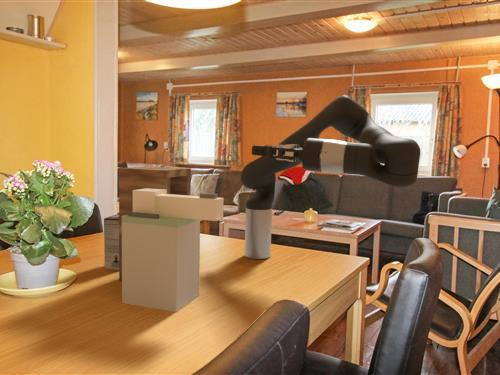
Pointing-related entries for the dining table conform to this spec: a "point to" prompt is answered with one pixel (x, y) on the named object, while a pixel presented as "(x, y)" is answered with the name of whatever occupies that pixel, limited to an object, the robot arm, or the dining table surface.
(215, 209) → the stepped cream block
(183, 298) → the green-lidded white box
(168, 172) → the walnut bridge
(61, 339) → the dining table surface
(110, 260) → the coffee box
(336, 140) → the robot arm
